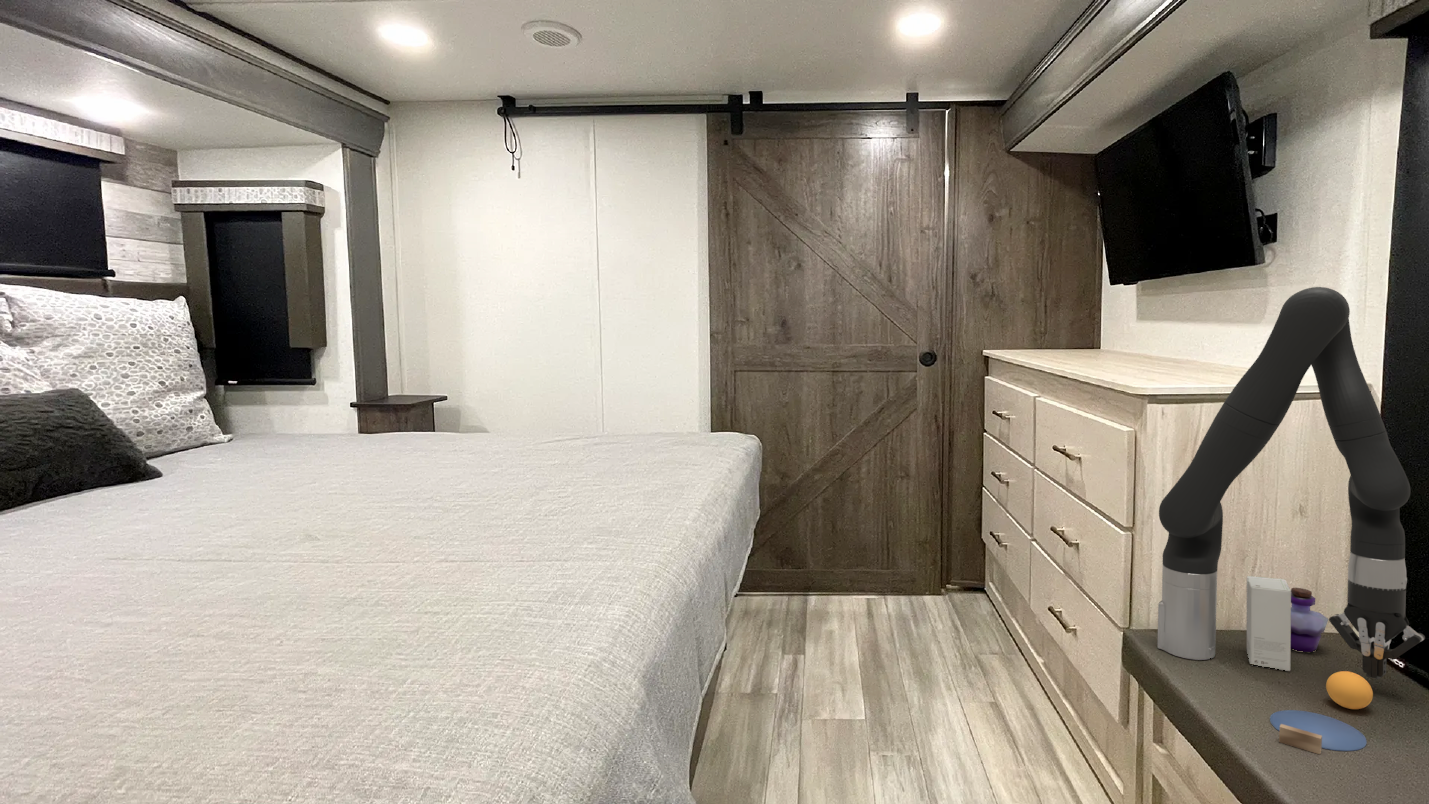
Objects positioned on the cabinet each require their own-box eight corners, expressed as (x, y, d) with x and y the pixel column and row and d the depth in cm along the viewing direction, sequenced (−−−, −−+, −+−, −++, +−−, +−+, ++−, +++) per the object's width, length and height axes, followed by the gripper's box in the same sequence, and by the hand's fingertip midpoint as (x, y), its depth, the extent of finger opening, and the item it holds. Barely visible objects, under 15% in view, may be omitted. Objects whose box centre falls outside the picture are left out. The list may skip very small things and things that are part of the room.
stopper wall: (1279, 742, 115) (1279, 726, 115) (1280, 739, 116) (1281, 723, 116) (1320, 754, 112) (1320, 738, 111) (1321, 751, 112) (1322, 735, 112)
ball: (1322, 707, 125) (1324, 673, 125) (1328, 694, 129) (1329, 661, 129) (1369, 720, 121) (1371, 684, 120) (1374, 706, 125) (1375, 672, 124)
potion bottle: (1261, 640, 152) (1263, 583, 151) (1299, 637, 153) (1301, 580, 152) (1298, 658, 143) (1300, 598, 142) (1339, 654, 144) (1341, 595, 143)
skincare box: (1290, 672, 138) (1293, 591, 136) (1247, 665, 141) (1249, 586, 140) (1285, 655, 145) (1287, 578, 143) (1243, 649, 148) (1245, 573, 147)
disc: (1262, 731, 119) (1262, 729, 119) (1278, 703, 127) (1278, 702, 127) (1361, 760, 110) (1361, 759, 110) (1371, 729, 118) (1371, 728, 118)
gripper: (1320, 575, 131) (1318, 669, 133) (1419, 594, 120) (1416, 697, 121) (1338, 567, 135) (1336, 658, 137) (1435, 585, 124) (1432, 685, 125)
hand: (1374, 676), depth 129 cm, fingers closed
